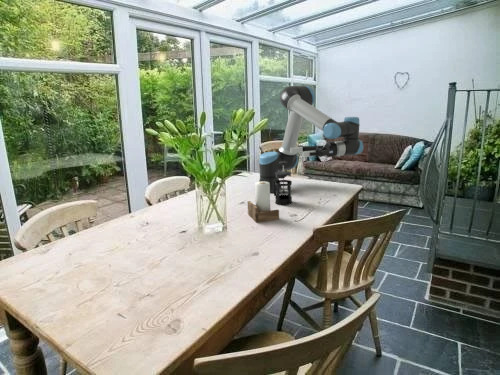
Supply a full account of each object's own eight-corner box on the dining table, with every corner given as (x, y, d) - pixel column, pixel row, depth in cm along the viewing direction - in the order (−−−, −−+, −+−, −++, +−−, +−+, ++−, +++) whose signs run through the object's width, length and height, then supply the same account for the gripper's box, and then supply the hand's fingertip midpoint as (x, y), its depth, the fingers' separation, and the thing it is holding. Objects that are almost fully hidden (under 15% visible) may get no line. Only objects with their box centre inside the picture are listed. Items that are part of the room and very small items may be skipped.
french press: (296, 202, 185) (296, 161, 179) (285, 206, 179) (284, 164, 173) (280, 198, 194) (280, 159, 188) (269, 202, 188) (268, 161, 182)
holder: (248, 214, 170) (247, 201, 168) (269, 211, 173) (269, 198, 171) (256, 222, 158) (255, 208, 156) (279, 219, 162) (278, 205, 160)
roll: (254, 213, 168) (253, 182, 163) (267, 211, 170) (266, 180, 165) (258, 218, 161) (257, 185, 157) (272, 216, 163) (271, 183, 159)
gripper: (348, 160, 162) (308, 164, 156) (321, 152, 185) (286, 156, 179) (348, 144, 160) (308, 148, 154) (322, 139, 183) (286, 142, 177)
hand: (296, 152), depth 166 cm, fingers open, 13 cm apart
